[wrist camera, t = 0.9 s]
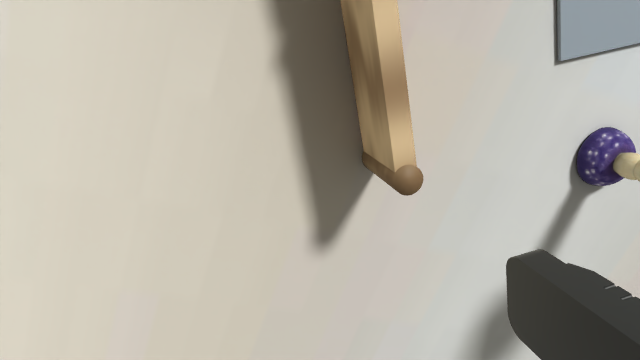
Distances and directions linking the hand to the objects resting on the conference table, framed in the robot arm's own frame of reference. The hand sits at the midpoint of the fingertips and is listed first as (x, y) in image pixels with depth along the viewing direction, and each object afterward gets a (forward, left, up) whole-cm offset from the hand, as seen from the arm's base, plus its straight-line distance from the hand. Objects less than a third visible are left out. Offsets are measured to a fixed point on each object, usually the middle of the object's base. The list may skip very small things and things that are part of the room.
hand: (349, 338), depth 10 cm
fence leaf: (-4, +7, -18) cm, 19 cm away
